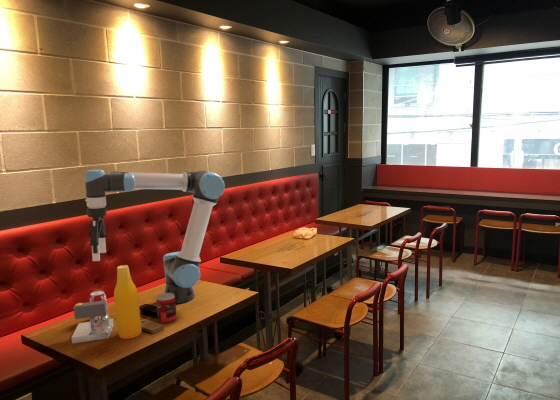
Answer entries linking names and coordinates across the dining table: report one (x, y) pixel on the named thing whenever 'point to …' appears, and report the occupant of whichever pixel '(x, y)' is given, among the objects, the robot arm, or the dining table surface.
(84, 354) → the dining table surface
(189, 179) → the robot arm
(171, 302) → the canned food
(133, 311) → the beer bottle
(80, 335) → the plate
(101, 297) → the soda can
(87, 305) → the grey block orange dot
